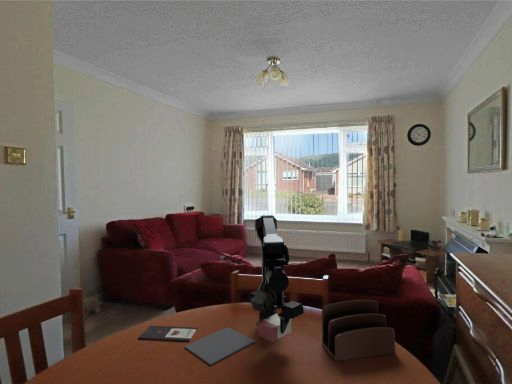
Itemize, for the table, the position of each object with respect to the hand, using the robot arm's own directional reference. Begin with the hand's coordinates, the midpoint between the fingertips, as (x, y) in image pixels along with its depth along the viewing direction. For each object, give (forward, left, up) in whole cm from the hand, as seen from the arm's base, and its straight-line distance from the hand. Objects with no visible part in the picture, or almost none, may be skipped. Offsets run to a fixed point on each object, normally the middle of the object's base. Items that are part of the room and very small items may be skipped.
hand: (274, 329), depth 96 cm
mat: (+10, -15, -7) cm, 19 cm away
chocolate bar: (+18, -34, -7) cm, 39 cm away
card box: (0, 0, -1) cm, 1 cm away
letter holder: (-19, +18, -7) cm, 27 cm away
